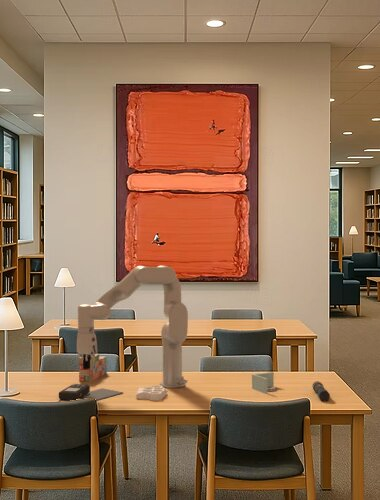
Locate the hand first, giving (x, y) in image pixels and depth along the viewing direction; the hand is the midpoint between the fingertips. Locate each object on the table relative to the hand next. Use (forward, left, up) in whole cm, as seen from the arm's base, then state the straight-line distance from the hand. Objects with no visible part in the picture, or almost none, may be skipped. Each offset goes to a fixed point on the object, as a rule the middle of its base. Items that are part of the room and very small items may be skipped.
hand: (86, 368), depth 356 cm
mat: (-8, 0, -12) cm, 14 cm away
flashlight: (-92, -61, -12) cm, 111 cm away
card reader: (0, +3, -9) cm, 9 cm away
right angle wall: (-67, -57, -12) cm, 89 cm away
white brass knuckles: (-29, -14, -12) cm, 35 cm away
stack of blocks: (+23, -26, -12) cm, 37 cm away
